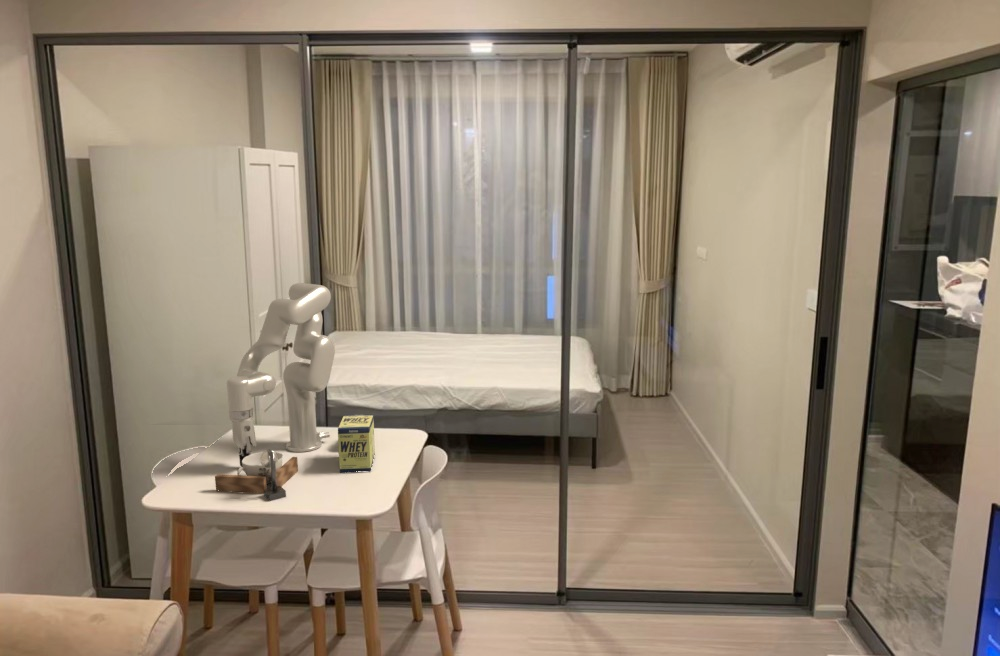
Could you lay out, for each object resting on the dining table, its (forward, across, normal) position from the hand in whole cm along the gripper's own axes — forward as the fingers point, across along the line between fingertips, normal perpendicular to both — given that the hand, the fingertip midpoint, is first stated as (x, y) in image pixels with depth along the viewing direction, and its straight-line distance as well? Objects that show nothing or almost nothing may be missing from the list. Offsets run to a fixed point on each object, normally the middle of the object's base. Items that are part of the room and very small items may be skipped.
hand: (245, 465), depth 241 cm
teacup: (+1, -15, 0) cm, 15 cm away
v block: (+1, -18, 0) cm, 18 cm away
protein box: (+2, -20, -32) cm, 37 cm away
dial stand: (+1, -28, 0) cm, 28 cm away
